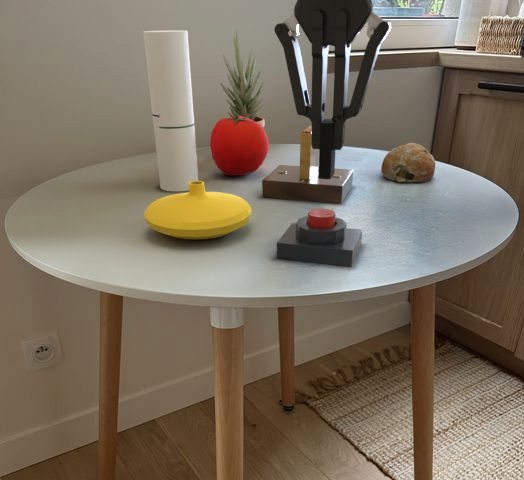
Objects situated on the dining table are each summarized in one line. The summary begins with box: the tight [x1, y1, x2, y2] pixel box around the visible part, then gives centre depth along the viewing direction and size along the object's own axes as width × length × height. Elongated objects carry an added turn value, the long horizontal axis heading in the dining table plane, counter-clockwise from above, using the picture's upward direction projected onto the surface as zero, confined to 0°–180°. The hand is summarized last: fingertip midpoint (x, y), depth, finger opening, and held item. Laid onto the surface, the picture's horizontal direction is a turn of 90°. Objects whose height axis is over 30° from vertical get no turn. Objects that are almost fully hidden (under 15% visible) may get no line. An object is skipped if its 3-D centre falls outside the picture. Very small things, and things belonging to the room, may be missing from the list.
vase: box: [143, 180, 253, 241], centre depth 79 cm, size 16×16×7 cm
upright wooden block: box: [299, 125, 319, 180], centre depth 94 cm, size 7×2×8 cm, turn 163°
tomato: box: [209, 111, 270, 176], centre depth 105 cm, size 12×12×11 cm
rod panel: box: [261, 164, 354, 205], centre depth 97 cm, size 14×11×3 cm
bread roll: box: [380, 142, 436, 183], centre depth 104 cm, size 10×10×8 cm
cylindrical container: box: [142, 29, 199, 193], centre depth 95 cm, size 7×7×25 cm
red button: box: [307, 208, 337, 229], centre depth 71 cm, size 4×4×2 cm
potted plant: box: [220, 27, 266, 128], centre depth 116 cm, size 10×10×25 cm
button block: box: [276, 215, 363, 267], centre depth 73 cm, size 10×8×4 cm
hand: (326, 175), depth 68 cm, fingers closed
